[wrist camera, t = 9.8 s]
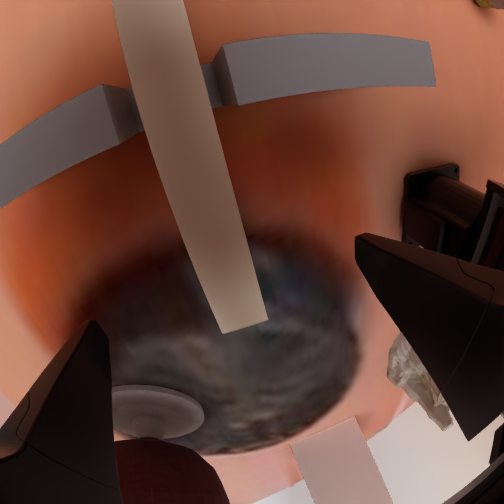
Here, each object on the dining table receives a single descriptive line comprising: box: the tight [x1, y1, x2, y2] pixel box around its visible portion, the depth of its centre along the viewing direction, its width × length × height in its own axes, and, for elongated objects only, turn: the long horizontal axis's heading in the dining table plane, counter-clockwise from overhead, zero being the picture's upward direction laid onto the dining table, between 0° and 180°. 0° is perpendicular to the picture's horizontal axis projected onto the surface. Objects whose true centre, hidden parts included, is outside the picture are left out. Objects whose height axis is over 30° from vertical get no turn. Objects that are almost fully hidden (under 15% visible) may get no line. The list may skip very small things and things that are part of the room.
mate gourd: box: [112, 384, 230, 504], centre depth 17 cm, size 16×14×20 cm
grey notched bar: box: [0, 33, 436, 208], centre depth 10 cm, size 20×2×7 cm, turn 102°
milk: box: [290, 416, 393, 504], centre depth 30 cm, size 12×12×26 cm
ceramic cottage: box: [387, 332, 453, 431], centre depth 25 cm, size 16×16×15 cm
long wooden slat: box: [112, 0, 268, 334], centre depth 10 cm, size 2×18×7 cm, turn 12°
